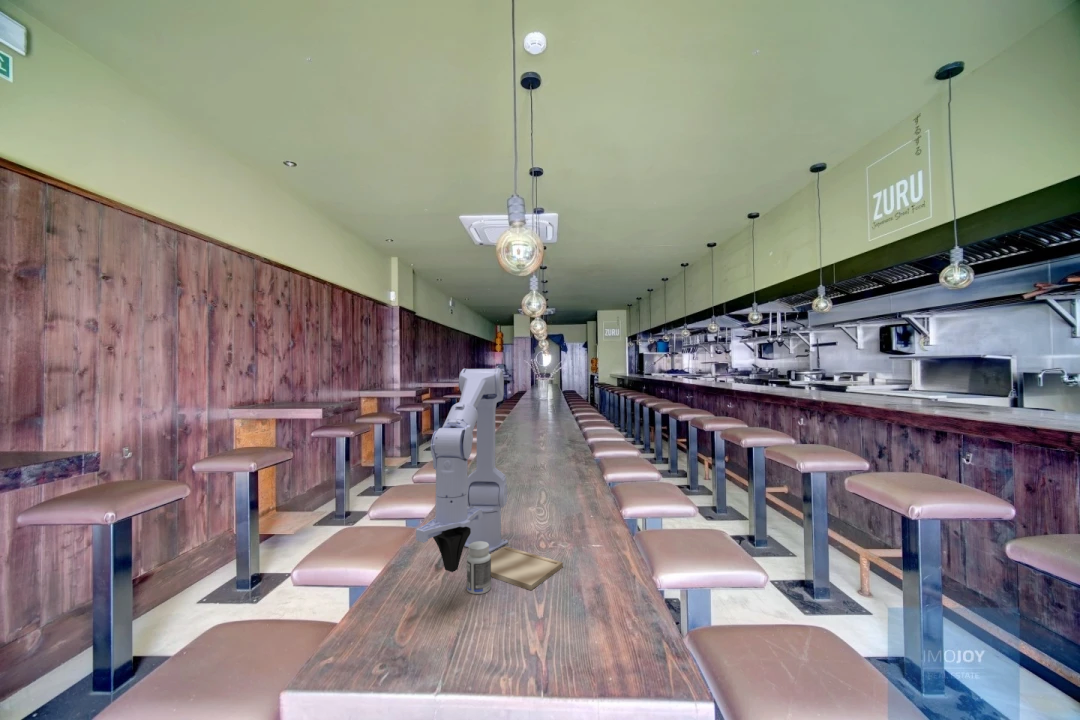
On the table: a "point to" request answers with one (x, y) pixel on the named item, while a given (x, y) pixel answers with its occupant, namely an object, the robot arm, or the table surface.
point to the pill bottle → (478, 568)
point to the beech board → (522, 567)
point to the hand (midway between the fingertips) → (451, 569)
